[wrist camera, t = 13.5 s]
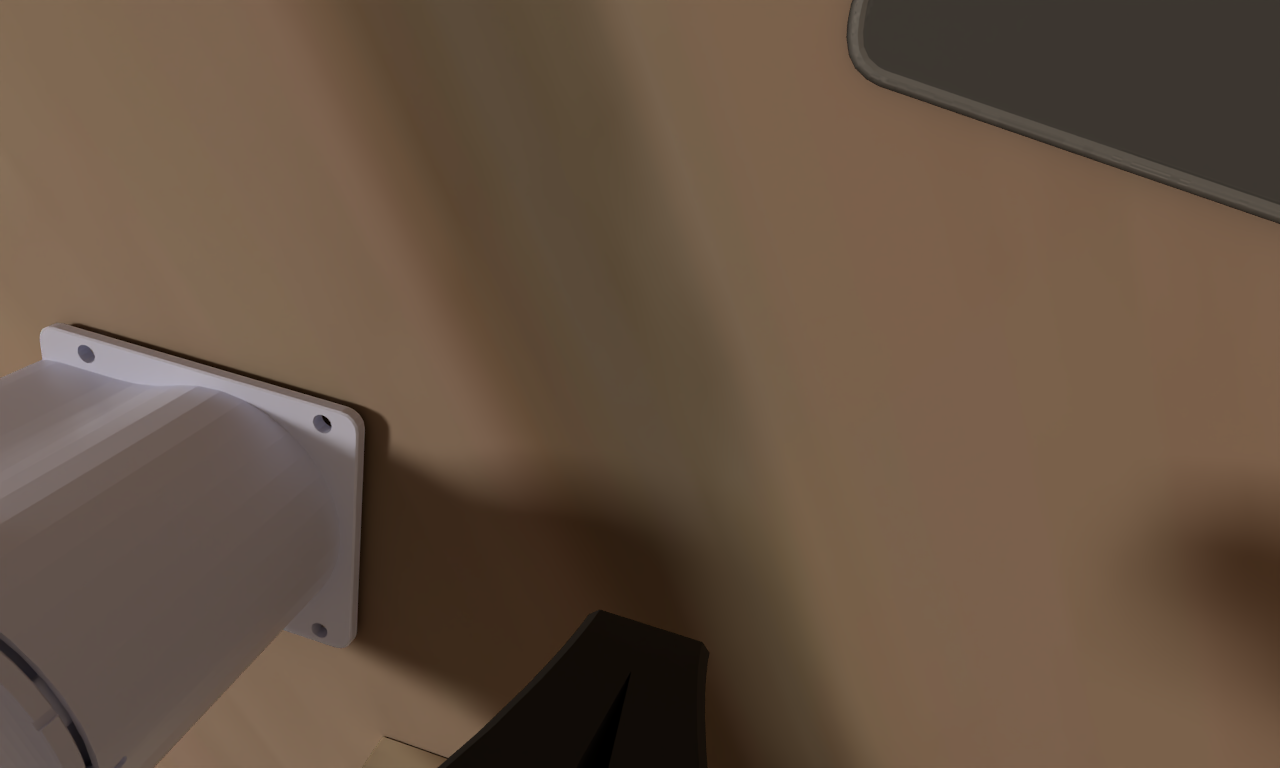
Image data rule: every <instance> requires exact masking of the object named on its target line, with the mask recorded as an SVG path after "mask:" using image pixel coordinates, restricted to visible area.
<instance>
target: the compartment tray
mask: <svg viewBox="0 0 1280 768" xmlns="http://www.w3.org/2000/svg"><path fill="white" fill-rule="evenodd" d="M446 760H447V759H446V758H443V757H440V756H437V755H434V754H431V753H429V752H426V751H423V750H420V749H417V748H414V747H411V746H409V745H406V744H403V743H400V742H397V741H394V740H391V739H389V738H386V737H382V738H381V740H380V741H379V743H378V744H377V746H376V747H375V749H374V750H373V752H372V753H371V755H370V756H369V758H368V759H367V761H366V762H365V764H364V765H363V767H362V768H437V767H439V766H440V765H441V764H442V763H443V762H445V761H446Z"/></svg>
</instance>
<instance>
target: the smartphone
mask: <svg viewBox="0 0 1280 768" xmlns="http://www.w3.org/2000/svg"><path fill="white" fill-rule="evenodd" d="M847 44H848V51H849V56H850V58H851V60H852V63H853V65H854V67H855V68H856V69H857V70H858V71H859V72H860V73H861V74H862V75H863V76H864V77H865V78H866V79H867V80H869V81H871V82H872V83H874V84H876V85H878V86H880V87H883V88H886V89H889V90H892V91H895V92H898V93H900V94H903V95H906V96H909V97H912V98H915V99H918V100H921V101H924V102H927V103H930V104H932V105H935V106H938V107H941V108H944V109H947V110H950V111H953V112H956V113H959V114H962V115H964V116H967V117H970V118H973V119H976V120H979V121H982V122H985V123H988V124H991V125H994V126H996V127H999V128H1002V129H1005V130H1008V131H1011V132H1014V133H1017V134H1020V135H1023V136H1026V137H1029V138H1031V139H1034V140H1037V141H1040V142H1043V143H1046V144H1049V145H1052V146H1055V147H1058V148H1061V149H1063V150H1066V151H1069V152H1072V153H1075V154H1078V155H1081V156H1084V157H1087V158H1090V159H1093V160H1095V161H1098V162H1101V163H1104V164H1107V165H1110V166H1113V167H1116V168H1119V169H1122V170H1125V171H1127V172H1130V173H1133V174H1136V175H1139V176H1142V177H1145V178H1148V179H1151V180H1154V181H1157V182H1159V183H1162V184H1165V185H1168V186H1171V187H1174V188H1177V189H1180V190H1183V191H1186V192H1189V193H1192V194H1194V195H1197V196H1200V197H1203V198H1206V199H1209V200H1212V201H1215V202H1218V203H1221V204H1224V205H1226V206H1229V207H1232V208H1235V209H1238V210H1241V211H1244V212H1247V213H1250V214H1253V215H1256V216H1258V217H1261V218H1264V219H1267V220H1270V221H1273V222H1276V223H1279V224H1280V0H853V1H852V3H851V8H850V13H849V17H848V25H847Z"/></svg>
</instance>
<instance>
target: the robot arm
mask: <svg viewBox="0 0 1280 768" xmlns="http://www.w3.org/2000/svg"><path fill="white" fill-rule="evenodd" d="M40 345H41V352H42V359H43V360H40V361H38V362H36V363H33V364H31V365H29V366H27V367H24V368H22V369H20V370H17V371H15V372H13V373H10V374H8V375H6V376H4V377H1V378H0V768H154V767H155V766H156V765H157V764H158V763H159V762H160V761H161V760H162V758H163V757H164V756H165V755H166V754H167V753H168V752H169V751H170V750H171V749H172V748H173V747H174V746H175V745H176V744H177V742H178V741H179V740H180V739H181V738H182V737H183V736H184V735H185V734H186V733H187V732H188V731H189V730H190V729H191V727H192V726H193V725H194V724H195V723H196V722H197V721H198V720H199V719H200V718H201V717H202V716H203V715H204V714H205V713H206V711H207V710H208V709H209V708H210V707H211V706H212V705H213V704H214V703H215V702H216V701H217V700H218V699H219V698H220V697H221V695H222V694H223V693H224V692H225V691H226V690H227V689H228V688H229V687H230V686H231V685H232V684H233V683H234V682H235V680H236V679H237V678H238V677H239V676H240V675H241V674H242V673H243V672H244V671H245V670H246V669H247V668H248V667H249V666H250V664H251V663H252V662H253V661H254V660H255V659H256V658H257V657H258V656H259V655H260V654H261V653H262V652H263V651H264V649H265V648H266V647H267V646H268V645H269V644H270V643H271V642H272V641H273V640H274V639H275V638H276V637H277V636H278V635H279V633H280V632H281V631H282V630H285V631H288V632H291V633H294V634H297V635H300V636H303V637H306V638H309V639H312V640H315V641H318V642H321V643H324V644H327V645H330V646H333V647H336V648H345V647H347V646H348V645H350V643H351V642H352V641H353V640H354V639H355V637H356V634H357V614H358V589H359V564H360V539H361V514H362V489H363V464H364V439H365V426H364V421H363V419H362V418H361V416H360V415H359V414H358V413H357V412H356V411H355V410H354V409H352V408H350V407H347V406H344V405H340V404H337V403H334V402H330V401H327V400H323V399H320V398H317V397H313V396H310V395H306V394H303V393H299V392H296V391H293V390H289V389H286V388H282V387H279V386H275V385H272V384H269V383H265V382H262V381H258V380H255V379H252V378H248V377H245V376H241V375H238V374H234V373H231V372H228V371H224V370H221V369H217V368H214V367H210V366H207V365H204V364H200V363H197V362H193V361H190V360H187V359H183V358H180V357H176V356H173V355H169V354H166V353H163V352H159V351H156V350H152V349H149V348H145V347H142V346H139V345H135V344H132V343H128V342H125V341H122V340H118V339H115V338H111V337H108V336H104V335H101V334H98V333H94V332H91V331H87V330H84V329H80V328H77V327H74V326H70V325H67V324H63V323H55V324H53V325H50V326H48V327H45V328H43V329H42V331H41V333H40ZM91 350H92V351H93V353H94V354H93V353H92V351H91ZM322 415H323V416H325V417H327V418H328V419H329V421H330V422H331V426H329V425H327V424H326V423H325V422H324V420H323V418H322ZM322 625H323V626H324V627H323V626H322ZM708 658H709V652H708V650H707V649H706V647H705V646H704V644H703V643H702V642H700V641H697V640H694V639H690V638H687V637H684V636H681V635H678V634H675V633H672V632H668V631H665V630H662V629H659V628H656V627H653V626H650V625H646V624H643V623H640V622H637V621H634V620H631V619H628V618H624V617H621V616H618V615H615V614H612V613H609V612H606V611H602V610H598V611H596V612H593V613H591V614H589V615H588V616H587V618H586V619H585V620H584V622H583V623H582V624H581V626H580V627H579V628H578V629H577V631H576V632H575V633H574V634H573V635H572V637H571V638H570V639H569V640H568V641H567V643H566V644H565V645H564V646H563V647H562V648H561V650H560V651H559V652H558V653H557V654H556V655H555V656H554V657H553V658H552V660H551V661H550V662H549V663H548V664H547V665H546V666H545V667H544V668H543V669H542V670H541V671H540V672H539V673H538V674H537V675H536V676H535V677H534V679H533V680H532V681H531V682H530V683H529V684H528V685H527V686H526V687H525V688H524V689H523V690H522V691H521V692H520V693H519V694H518V695H517V696H516V697H514V698H513V699H512V700H511V701H510V702H509V703H508V704H507V705H506V706H505V707H504V708H503V709H502V710H501V711H500V712H499V713H498V714H497V715H496V716H495V717H494V718H493V719H492V720H491V721H490V722H489V723H487V724H486V725H485V726H484V727H483V728H482V729H481V730H480V731H479V732H478V733H477V734H476V735H475V736H473V737H472V738H471V739H470V740H469V741H468V742H467V743H466V744H464V745H463V746H462V747H461V748H460V749H459V750H457V751H456V752H455V753H454V754H453V755H452V756H450V757H449V758H448V759H447V760H446V761H445V762H443V763H442V764H441V765H440V766H439V767H437V768H707V756H706V736H705V683H706V672H707V663H708Z"/></svg>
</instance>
